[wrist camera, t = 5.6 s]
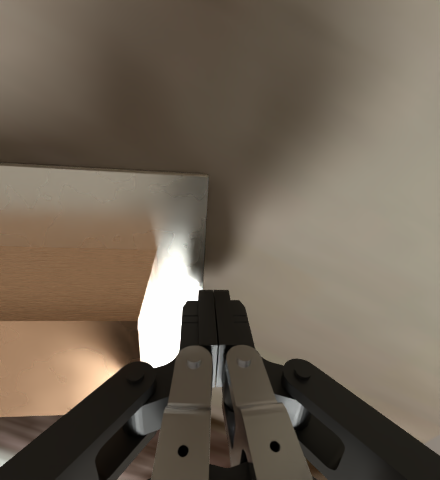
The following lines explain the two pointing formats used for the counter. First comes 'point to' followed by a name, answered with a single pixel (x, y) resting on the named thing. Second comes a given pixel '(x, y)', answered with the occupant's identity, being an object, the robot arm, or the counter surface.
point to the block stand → (115, 224)
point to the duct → (71, 323)
